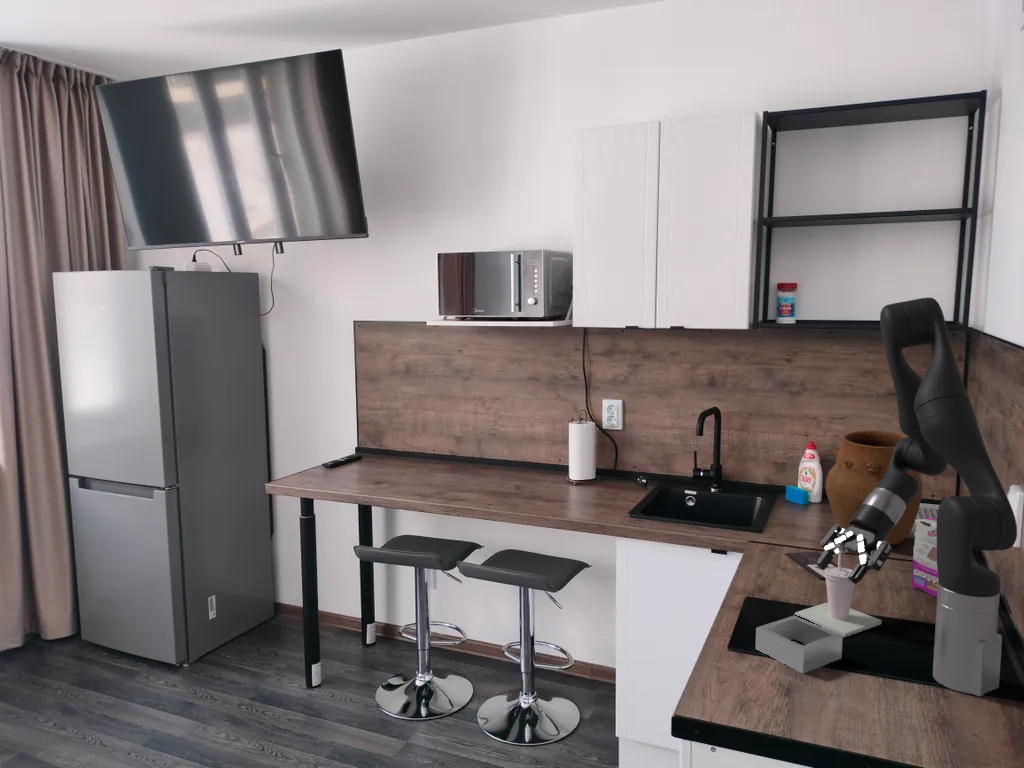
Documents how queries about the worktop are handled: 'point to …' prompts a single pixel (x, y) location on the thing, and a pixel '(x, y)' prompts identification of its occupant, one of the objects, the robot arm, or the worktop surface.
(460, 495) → the worktop surface
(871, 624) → the sage mat
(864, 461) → the pot
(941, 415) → the robot arm
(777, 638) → the gray square open box
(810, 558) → the chocolate bar
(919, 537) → the candy bar box
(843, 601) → the smoothie
